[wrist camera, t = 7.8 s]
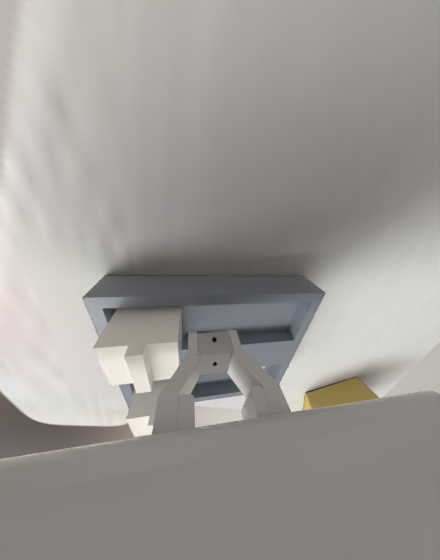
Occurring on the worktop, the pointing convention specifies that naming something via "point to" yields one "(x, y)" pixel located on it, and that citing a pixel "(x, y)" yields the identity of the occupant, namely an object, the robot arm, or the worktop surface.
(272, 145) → the worktop surface
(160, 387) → the tab far
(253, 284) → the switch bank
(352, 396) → the cheese
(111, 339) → the tab near
